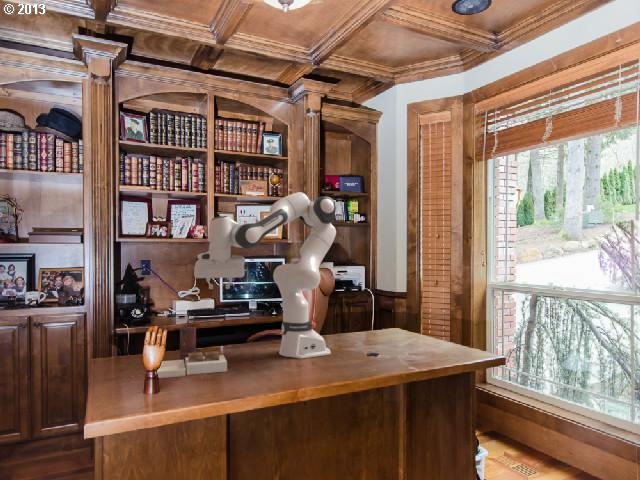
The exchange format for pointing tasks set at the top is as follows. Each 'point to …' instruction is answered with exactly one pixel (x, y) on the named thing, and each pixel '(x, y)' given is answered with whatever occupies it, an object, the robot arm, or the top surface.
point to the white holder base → (206, 366)
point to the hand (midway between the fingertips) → (219, 288)
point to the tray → (171, 369)
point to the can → (187, 341)
